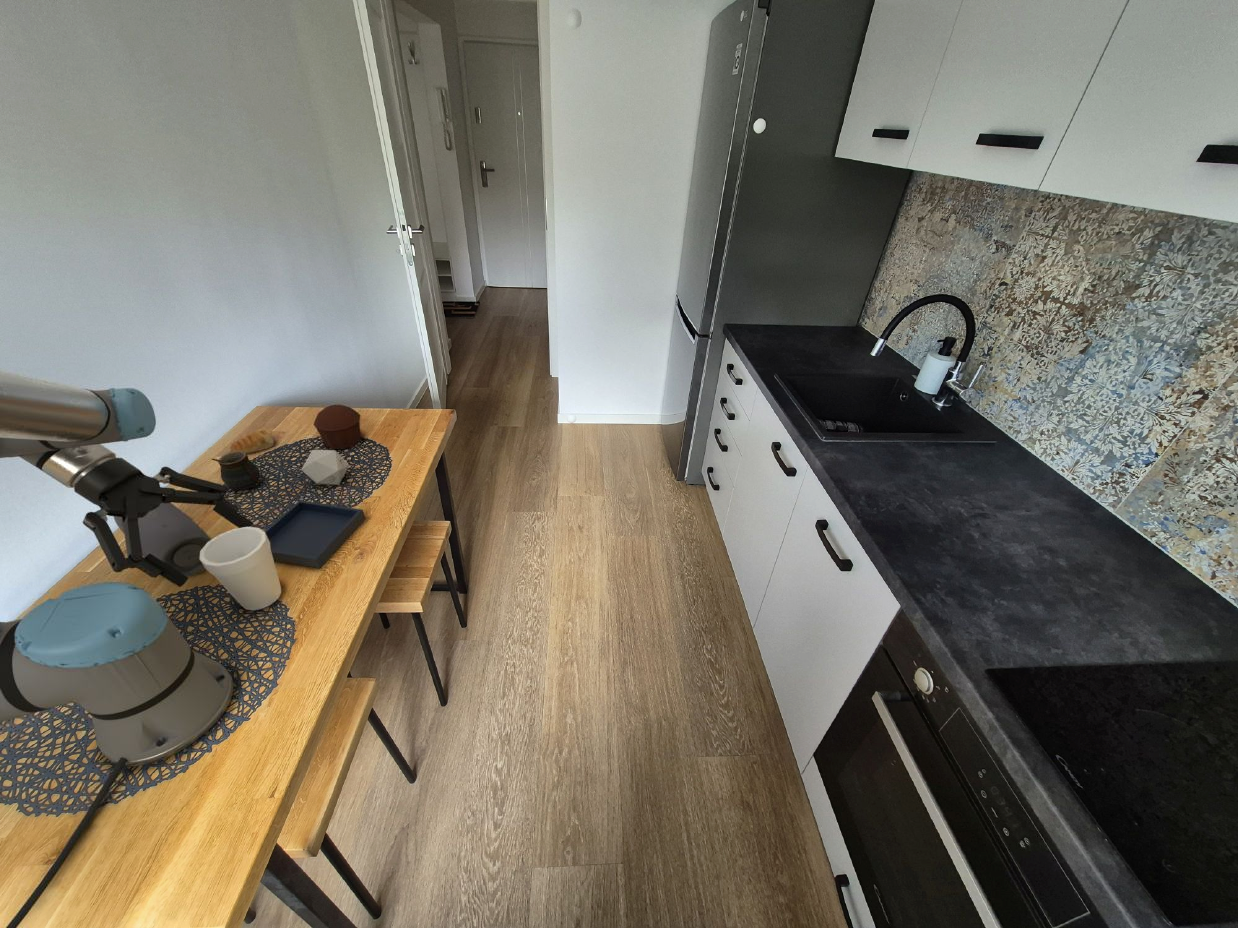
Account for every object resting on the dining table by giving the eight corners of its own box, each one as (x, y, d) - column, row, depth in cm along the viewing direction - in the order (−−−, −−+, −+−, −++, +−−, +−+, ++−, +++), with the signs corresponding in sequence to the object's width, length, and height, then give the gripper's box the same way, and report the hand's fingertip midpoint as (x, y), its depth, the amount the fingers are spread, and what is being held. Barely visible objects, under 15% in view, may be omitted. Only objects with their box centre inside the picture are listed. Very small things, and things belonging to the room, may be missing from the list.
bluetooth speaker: (230, 562, 98) (208, 524, 92) (174, 592, 91) (147, 553, 85) (179, 517, 107) (156, 481, 102) (126, 542, 101) (98, 504, 95)
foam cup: (301, 591, 92) (276, 540, 85) (248, 625, 86) (217, 574, 78) (273, 570, 96) (247, 520, 89) (221, 601, 90) (188, 549, 82)
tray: (319, 568, 97) (315, 559, 96) (250, 556, 99) (244, 547, 98) (365, 518, 110) (362, 509, 108) (303, 508, 112) (299, 499, 110)
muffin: (315, 438, 136) (303, 406, 130) (357, 426, 142) (347, 394, 136) (329, 457, 129) (318, 424, 123) (373, 443, 135) (363, 410, 129)
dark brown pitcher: (271, 478, 120) (255, 443, 115) (246, 496, 114) (228, 461, 108) (244, 474, 121) (228, 439, 116) (219, 492, 115) (200, 457, 109)
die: (324, 499, 116) (343, 464, 114) (288, 479, 114) (307, 443, 112) (342, 488, 124) (360, 456, 122) (309, 470, 123) (327, 436, 121)
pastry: (237, 459, 126) (231, 447, 124) (228, 450, 130) (222, 437, 127) (277, 445, 132) (272, 433, 130) (267, 436, 136) (262, 424, 133)
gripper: (7, 511, 67) (158, 601, 74) (172, 422, 87) (279, 499, 94) (0, 534, 71) (145, 618, 78) (161, 443, 91) (264, 516, 98)
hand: (219, 553), depth 86 cm, fingers open, 13 cm apart
